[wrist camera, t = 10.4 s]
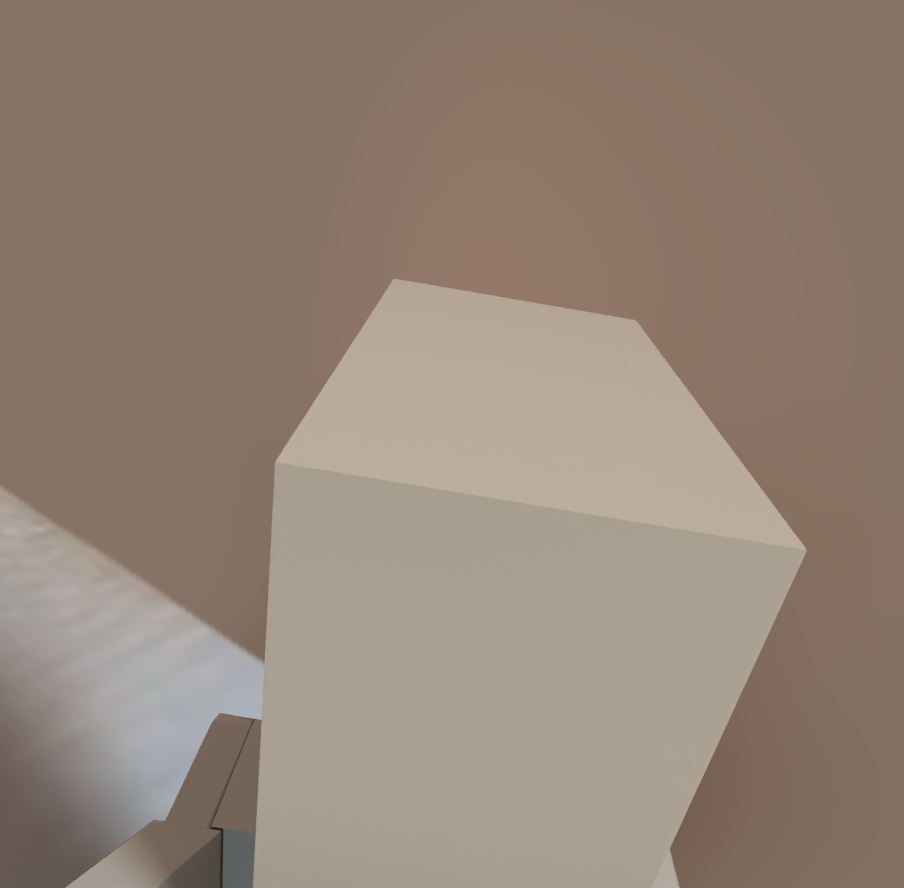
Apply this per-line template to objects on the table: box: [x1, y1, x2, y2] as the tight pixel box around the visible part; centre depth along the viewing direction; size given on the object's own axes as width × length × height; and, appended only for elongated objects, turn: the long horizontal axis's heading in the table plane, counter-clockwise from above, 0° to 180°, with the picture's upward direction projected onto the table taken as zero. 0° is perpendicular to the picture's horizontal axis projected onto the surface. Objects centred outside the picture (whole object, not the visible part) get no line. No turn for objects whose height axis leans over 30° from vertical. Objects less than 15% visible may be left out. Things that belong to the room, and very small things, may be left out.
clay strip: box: [253, 279, 807, 888], centre depth 9 cm, size 3×5×15 cm, turn 177°
